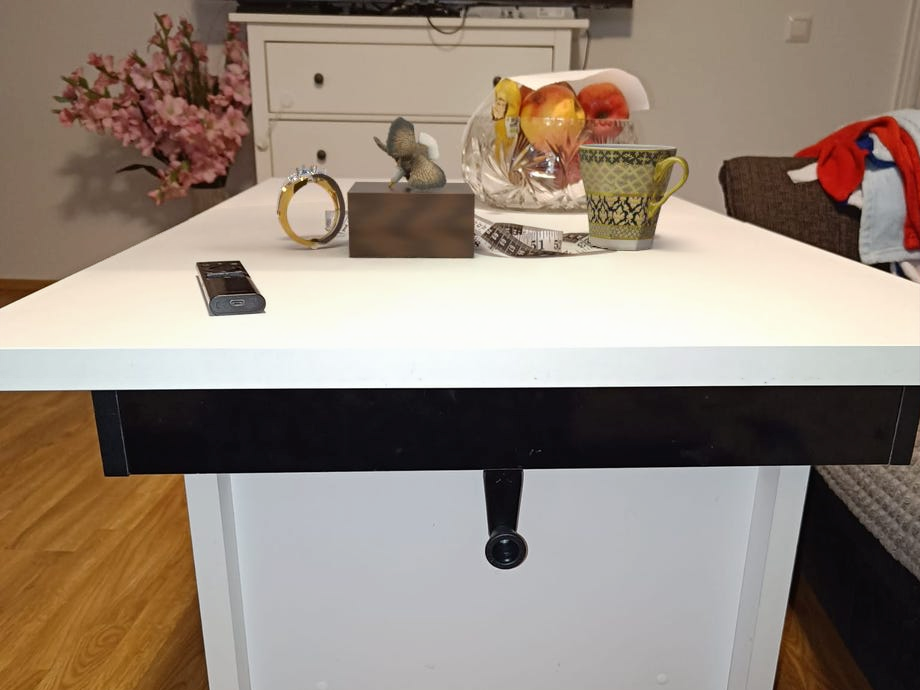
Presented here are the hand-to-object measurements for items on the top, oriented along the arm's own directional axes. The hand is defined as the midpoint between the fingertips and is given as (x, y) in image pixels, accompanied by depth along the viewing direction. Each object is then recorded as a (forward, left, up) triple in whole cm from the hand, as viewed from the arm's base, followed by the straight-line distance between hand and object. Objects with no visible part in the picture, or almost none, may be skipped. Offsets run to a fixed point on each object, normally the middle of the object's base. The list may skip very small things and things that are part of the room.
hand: (347, 0), depth 83 cm
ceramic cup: (+28, +5, -22) cm, 37 cm away
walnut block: (+5, +4, -22) cm, 23 cm away
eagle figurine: (+5, +4, -16) cm, 18 cm away
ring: (-5, +3, -22) cm, 23 cm away
